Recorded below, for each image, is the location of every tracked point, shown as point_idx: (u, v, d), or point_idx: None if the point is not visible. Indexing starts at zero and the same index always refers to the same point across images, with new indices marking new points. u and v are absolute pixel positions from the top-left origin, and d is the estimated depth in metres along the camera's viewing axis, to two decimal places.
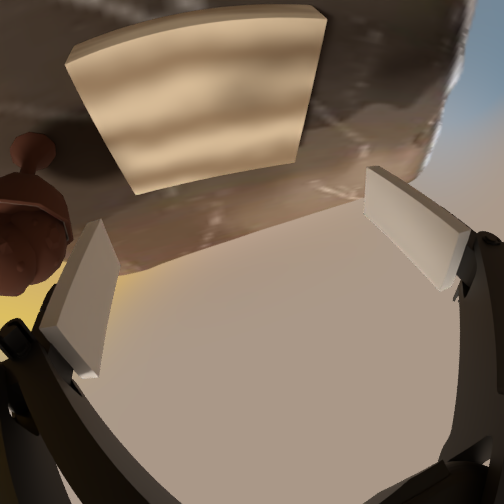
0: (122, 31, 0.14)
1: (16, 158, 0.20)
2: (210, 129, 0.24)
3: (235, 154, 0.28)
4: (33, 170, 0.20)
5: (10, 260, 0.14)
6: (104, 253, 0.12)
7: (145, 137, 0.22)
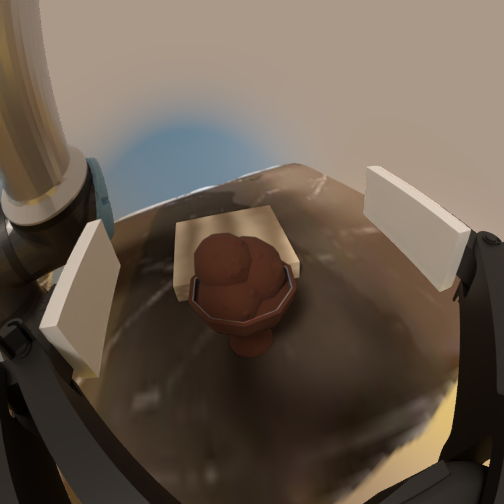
0: None
1: (243, 343, 0.33)
2: (238, 236, 0.47)
3: (260, 225, 0.49)
4: None
5: None
6: (104, 253, 0.12)
7: None
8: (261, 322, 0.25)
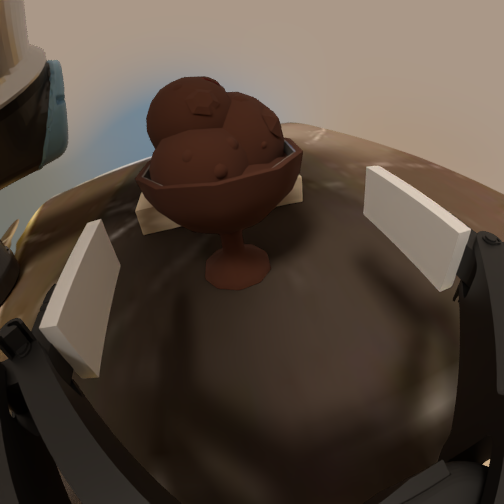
0: None
1: (224, 268, 0.22)
2: None
3: None
4: None
5: None
6: (104, 253, 0.12)
7: None
8: (246, 184, 0.14)
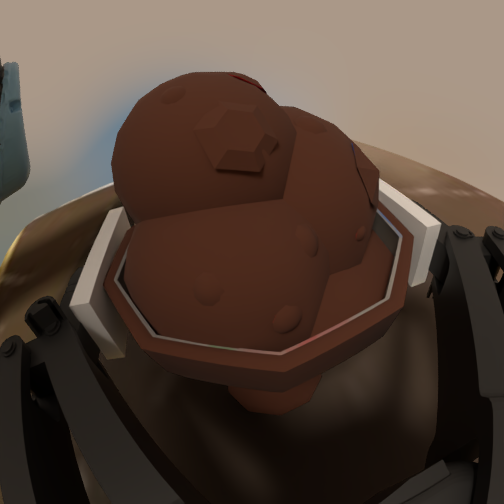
0: None
1: None
2: None
3: None
4: None
5: None
6: None
7: None
8: (343, 347, 0.06)
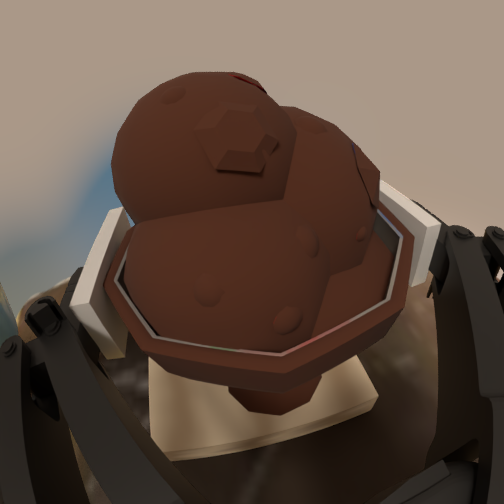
0: None
1: None
2: None
3: None
4: None
5: None
6: None
7: None
8: (343, 348, 0.06)
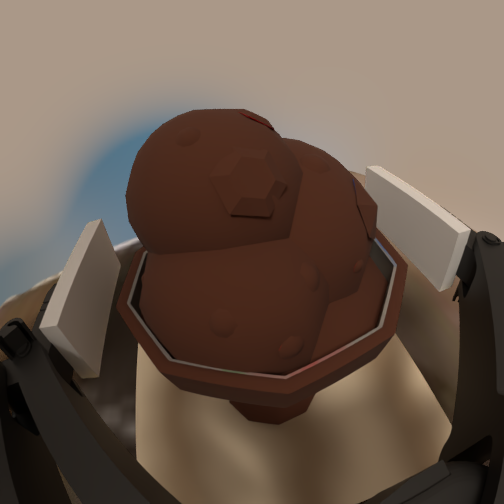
0: None
1: None
2: None
3: None
4: None
5: None
6: (104, 253, 0.12)
7: (312, 458, 0.12)
8: (340, 371, 0.07)
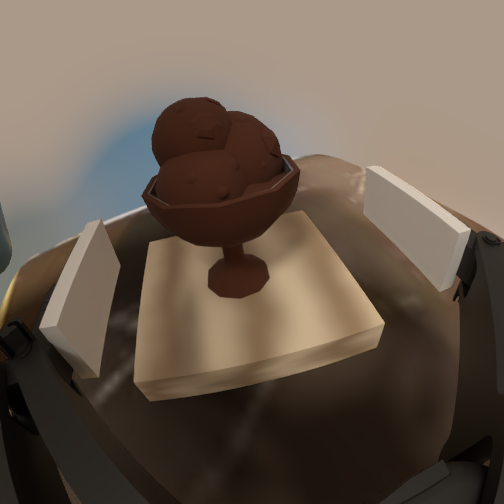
0: None
1: (226, 278, 0.23)
2: None
3: (295, 246, 0.28)
4: None
5: None
6: (104, 253, 0.12)
7: (261, 318, 0.21)
8: (247, 205, 0.16)
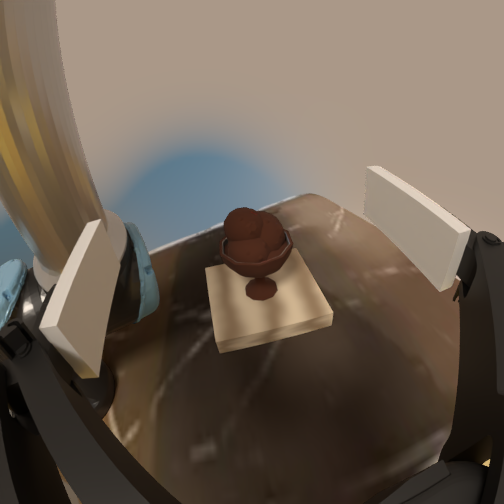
0: None
1: (256, 290, 0.47)
2: None
3: (291, 272, 0.51)
4: None
5: None
6: (104, 253, 0.12)
7: (274, 310, 0.44)
8: (270, 263, 0.39)
